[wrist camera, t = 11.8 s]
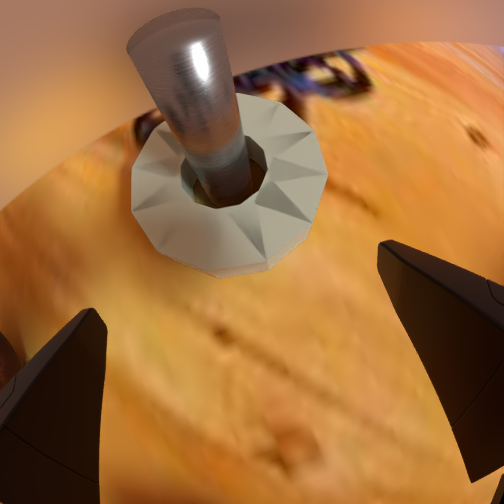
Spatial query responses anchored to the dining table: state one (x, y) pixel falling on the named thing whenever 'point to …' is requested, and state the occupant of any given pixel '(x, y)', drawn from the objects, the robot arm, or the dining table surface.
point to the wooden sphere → (7, 362)
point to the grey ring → (239, 216)
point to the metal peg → (196, 98)
